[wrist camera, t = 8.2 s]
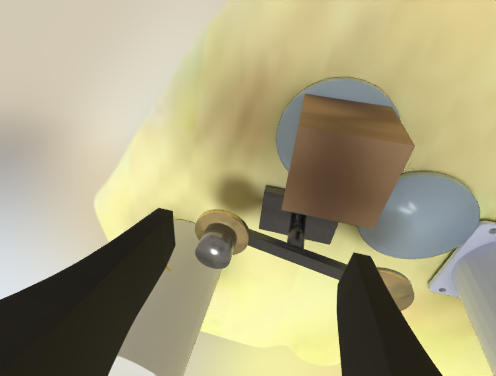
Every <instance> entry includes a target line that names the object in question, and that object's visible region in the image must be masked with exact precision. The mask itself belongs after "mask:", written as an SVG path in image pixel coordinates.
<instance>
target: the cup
mask: <svg viewBox="0 0 496 376" xmlns="http://www.w3.org/2000/svg"><path fill="white" fill-rule="evenodd" d="M173 220H174V232H175V243H176V246H175V248H174V250H173V253H172V255H171V257H170V260H169V262H168V264H167V266H166V268H165V270H164V272H163V273H162V275H161V277H160V278H159V280H158V282H157V284H156V285H155V287H154V289H153V290H152V292H151V294H150V295H149V297H148V299H147V300H146V302H145V304H144V305H143V307H142V308H141V310H140V312H139V313H138V315H137V317H136V319H135V320H134V322H133V324H132V326H131V328H130V330H129V332H128V334H127V336H126V338H125V340H124V342H123V344H122V346H121V349H120V351H119V353H118V355H117V357H116V359H115V361H114V364H113V366H112V368H111V370H110V372H109V375H108V376H183V375H184V372H185V369H186V367H187V364H188V361H189V358H190V356H191V353H192V350H193V347H194V345H195V342H196V339H197V336H198V334H199V331H200V328H201V325H202V323H203V320H204V317H205V315H206V312H207V309H208V306H209V304H210V301H211V298H212V295H213V293H214V290H215V287H216V284H217V282H218V279H219V276H220V273H221V271H222V269H213V268H210V267H207V266H205V265H203V264H202V263H201V262H200V261H199V260H198V259H197V257H196V255H195V250H196V248H197V246H198V244H199V242H200V241H199V240H198V238H197V236H196V233H195V225H196V224H195V223H192V222H189V221H185V220H179V219H173Z"/></svg>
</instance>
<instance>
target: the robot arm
mask: <svg viewBox="0 0 496 376" xmlns="http://www.w3.org/2000/svg"><path fill="white" fill-rule="evenodd" d="M493 228H494V229H493ZM490 229H492V230H490ZM175 246H176V243H175V232H174V220H173V211H170V210H165V209H161V208H158V209H156V210H155V211H153V212H152V213H151V214H149V215H148V216H146V217H145V218H144V219H142V220H141V221H139V222H138V223H137V224H135V225H134V226H132V227H131V228H130V229H128V230H127V231H125V232H124V233H122V234H121V235H120V236H118V237H117V238H115V239H114V240H112V241H111V242H109V243H108V244H106V245H105V246H103V247H101V248H100V249H98V250H97V251H95V252H93V253H92V254H90V255H89V256H87V257H85V258H84V259H82V260H80V261H79V262H77V263H75V264H73V265H72V266H70V267H68V268H66V269H64V270H62V271H60V272H59V273H57V274H55V275H53V276H51V277H49V278H47V279H45V280H43V281H41V282H38V283H36V284H34V285H32V286H30V287H28V288H26V289H23V290H21V291H20V292H17V293H15V294H13V295H10V296H8V297H5V298H3V299H1V300H0V376H108V375H109V372H110V370H111V368H112V366H113V364H114V361H115V359H116V357H117V355H118V353H119V351H120V349H121V346H122V344H123V342H124V340H125V338H126V336H127V334H128V332H129V330H130V328H131V326H132V324H133V322H134V320H135V319H136V317H137V315H138V313H139V312H140V310H141V308H142V307H143V305H144V304H145V302H146V300H147V299H148V297H149V295H150V294H151V292H152V290H153V289H154V287H155V285H156V284H157V282H158V280H159V278H160V277H161V275H162V273H163V272H164V270H165V268H166V266H167V264H168V262H169V260H170V257H171V255H172V253H173V250H174V248H175ZM428 287H429V290H431V291H433V292H437V293H441V294H445V295H449V296H454V297H458V298H460V299H461V302H462V304H463V306H464V309H465V311H466V313H467V315H468V318H469V320H470V322H471V325H472V327H473V329H474V331H475V334H476V336H477V338H478V341H479V343H480V345H481V347H482V350H483V352H484V354H485V356H486V359H487V361H488V363H489V366H490V368H491V370H492V372H493V375H494V376H496V222H491V221H480V222H479V223H478V225H477V227H476V229H475V231H474V232H473V234H472V235H471V236H470V237H469V238H468V239H467V240H466V241H465V242H463V243H462V244H461V245H459V246H458V247H457V249H456V250H455V251H454V252H453V254H452V255H451V256H450V257H449V259H448V260H447V261H446V262H445V264H444V265H443V266H442V267H441V269H440V270H439V271H438V272H437V274H436V275H435V276H434V277H433V279H432V280H431V281H430V282H429V284H428ZM337 321H338V333H339V345H340V357H341V368H342V376H442V374H441V373H440V371H439V370H438V369H437V367H436V366H435V364H434V363H433V362H432V360H431V359H430V357H429V356H428V354H427V353H426V351H425V350H424V348H423V347H422V345H421V344H420V342H419V341H418V339H417V338H416V336H415V334H414V333H413V331H412V330H411V328H410V326H409V325H408V323H407V322H406V320H405V318H404V316H403V315H402V313H401V311H400V310H399V308H398V306H397V304H396V303H395V301H394V299H393V297H392V296H391V294H390V292H389V290H388V288H387V286H386V285H385V283H384V281H383V279H382V277H381V275H380V273H379V271H378V269H377V267H376V265H375V264H374V262H373V260H372V258H371V256H367V255H362V254H358V253H353V255H352V257H351V259H350V261H349V263H348V265H347V267H346V269H345V271H344V273H343V275H342V277H341V279H340V281H339V283H338V289H337Z"/></svg>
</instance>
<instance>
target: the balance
mask: <svg viewBox="0 0 496 376" xmlns="http://www.w3.org/2000/svg"><path fill="white" fill-rule="evenodd" d="M284 194H285V189H280V188H275V187H271V186H266V188H265V192H264V198H263V205H262V211H261V218H260V224H259V229H263V230H267V231H271V232H276V233H280V234H285V235H288V240H287V243H286V242H284V241H281V240H278V239H275V238H273V237H270V236H267V235H264V234H262V233H259V232H256V231H253V230H251V229H249V228H248V226H247V225H246V223H245V222H244V221H243V220H242V219H241V218H240V217H238V216H237V215H235V214H233V213H231V212H229V211H225V210H219V209H215V210H209V211H206V212H204V213H203V214H202V215H201V216H200V217H199V219H198V221H197V222H196V225H195V233H196V236H197V238H198V240H199V241H200V242H199V244H198V246H197V248H196V250H195V255H196V257H197V259H198V260H199V261H200V262H201V263H202V264H203V265H205V266H207V267H210V268H213V269H222V268H225V267H227V266H228V265H229V262H230V260H231V257H232V255H234V254H238V253H240V252H242V251H243V250H244V249H245V248H246V247H247V245H249V246H251V247H254V248H256V249H259V250H262V251H264V252H267V253H270V254H272V255H275V256H277V257H280V258H283V259H285V260H288V261H291V262H293V263H296V264H298V265H301V266H304V267H306V268H309V269H312V270H314V271H317V272H319V273H322V274H325V275H327V276H330V277H332V278H335V279H338V280H340V279H341V277H342V275H343V273H344V271H345V269H346V267H347V264H344V263H341V262H338V261H336V260H333V259H330V258H327V257H325V256H322V255H319V254H316V253H314V252H311V251H308V250H305V249H304V239H307V240H312V241H316V242H320V243H325V244H329V245H330V243H331V240H332V238H333V235H334V233H335V230H336V227H337V225H338V222H337V221H332V220H327V219H322V218H318V217H313V216H308V215H303V214H299V213H294V212H289V211H284V210H281V209H282V204H283V199H284ZM377 269H378V271H379V273H380V275H381V277H382V279H383V281H384V283H385V285H386V286H387V288H388V290H389V292H390V294H391V296H392V297H393V299H394V301H395V303H396V304H397V306H398V308H399V310H400V311H402V310H404V309H406V308H407V307H409V306H410V305H411V304H412V302H413V300H414V292H413V288H412V285H411V283H410V281H409V280H408V279H407V278H406V277H405V276H404V275H403V274H401V273H399V272H397V271H394V270H391V269H387V268H380V267H377Z"/></svg>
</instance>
